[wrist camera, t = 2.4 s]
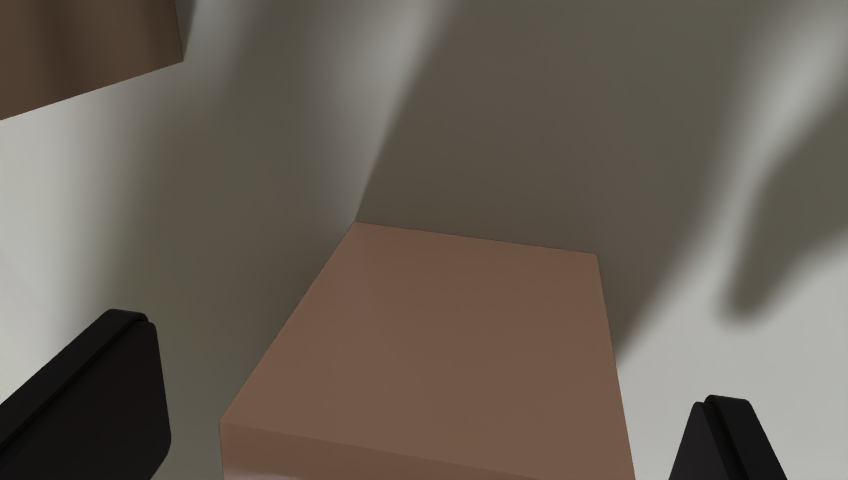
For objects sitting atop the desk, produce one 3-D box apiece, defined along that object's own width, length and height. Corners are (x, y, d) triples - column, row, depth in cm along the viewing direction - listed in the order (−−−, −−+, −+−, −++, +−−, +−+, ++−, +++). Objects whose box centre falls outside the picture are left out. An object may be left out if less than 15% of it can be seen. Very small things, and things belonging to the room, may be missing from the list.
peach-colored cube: (596, 253, 12) (639, 496, 7) (556, 442, 14) (565, 742, 9) (354, 220, 13) (218, 421, 7) (350, 406, 15) (241, 669, 9)
